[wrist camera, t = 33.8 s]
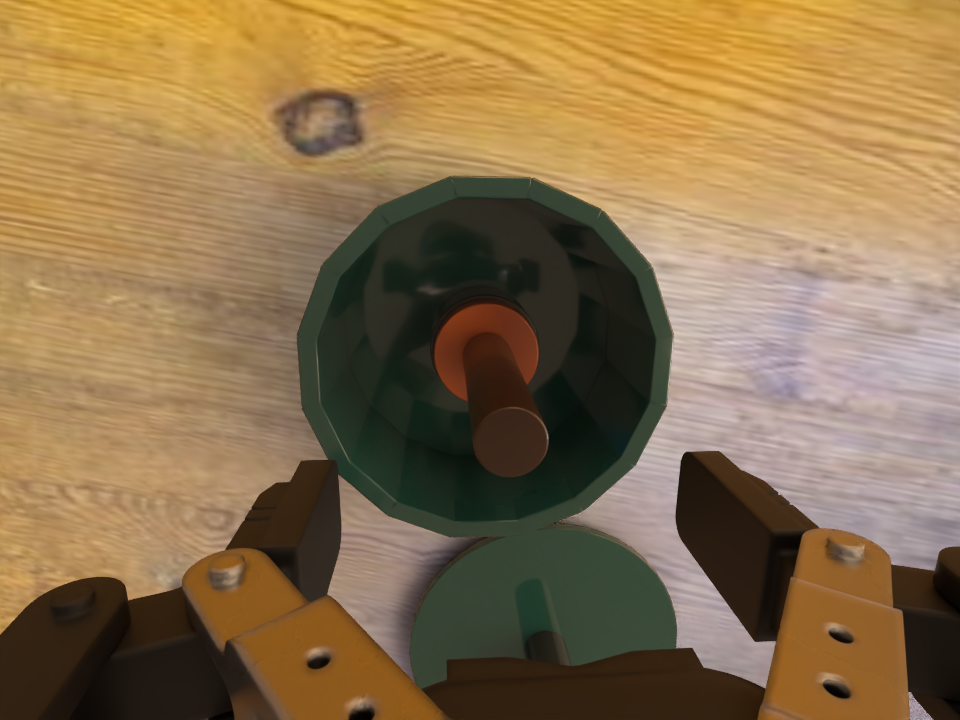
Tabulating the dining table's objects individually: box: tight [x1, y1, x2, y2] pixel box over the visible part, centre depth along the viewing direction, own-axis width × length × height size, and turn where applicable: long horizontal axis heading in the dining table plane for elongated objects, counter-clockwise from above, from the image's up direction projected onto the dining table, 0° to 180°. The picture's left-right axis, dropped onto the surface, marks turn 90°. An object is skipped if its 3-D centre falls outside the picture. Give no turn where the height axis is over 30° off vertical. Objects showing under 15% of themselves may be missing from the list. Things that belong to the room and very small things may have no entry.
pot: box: [297, 176, 674, 537], centre depth 27 cm, size 15×15×8 cm
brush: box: [430, 286, 549, 477], centre depth 24 cm, size 5×5×14 cm
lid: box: [410, 524, 677, 689], centre depth 33 cm, size 16×16×6 cm
